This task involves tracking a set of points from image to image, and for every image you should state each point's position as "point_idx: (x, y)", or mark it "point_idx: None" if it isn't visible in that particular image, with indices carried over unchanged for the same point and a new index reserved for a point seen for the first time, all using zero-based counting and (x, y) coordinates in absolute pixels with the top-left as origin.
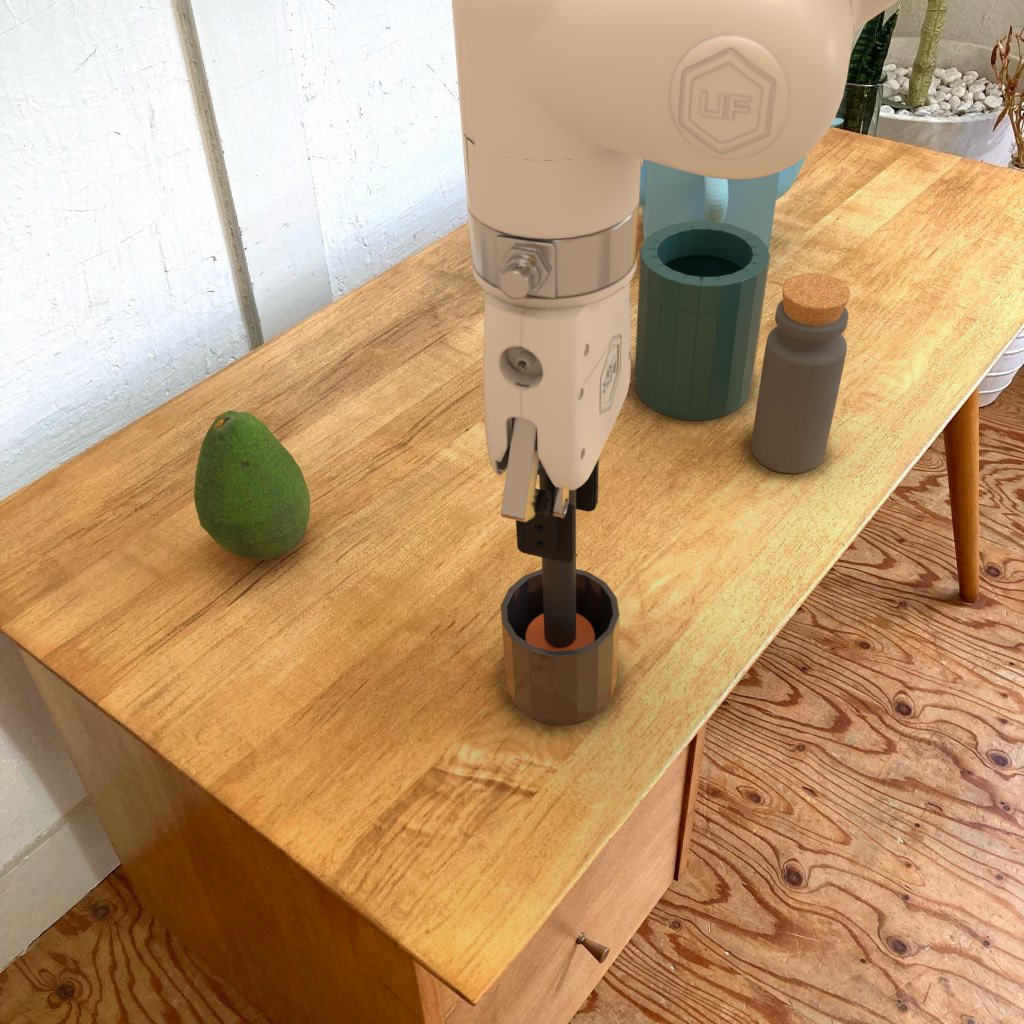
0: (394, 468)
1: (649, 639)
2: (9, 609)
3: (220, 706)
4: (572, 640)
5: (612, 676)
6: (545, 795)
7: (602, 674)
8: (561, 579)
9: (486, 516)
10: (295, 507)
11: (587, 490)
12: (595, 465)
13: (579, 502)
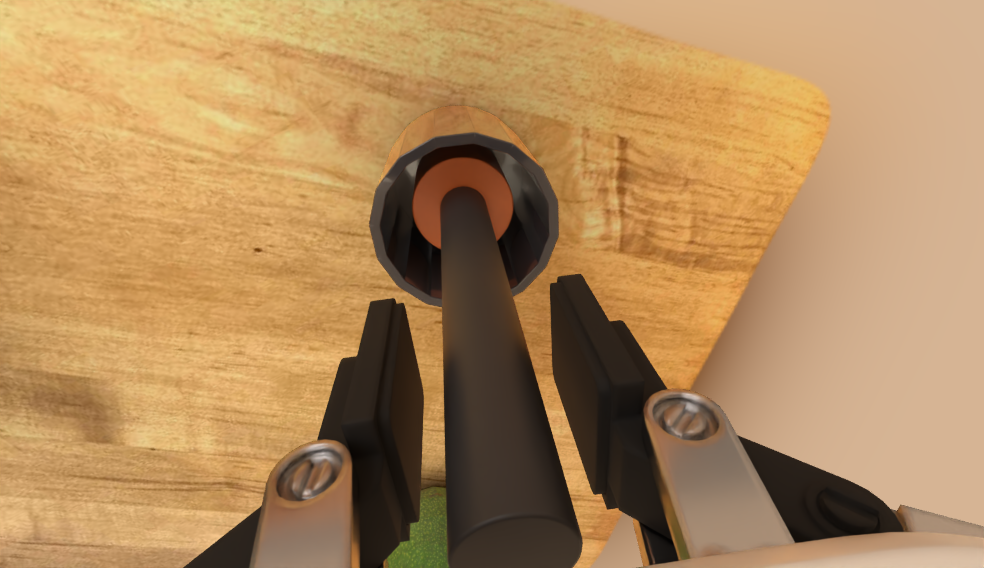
0: (268, 473)
1: (336, 93)
2: None
3: None
4: (470, 188)
5: (461, 112)
6: (620, 124)
7: (490, 123)
8: (500, 260)
9: (269, 367)
10: (434, 537)
11: (401, 351)
12: (377, 401)
13: (407, 339)
